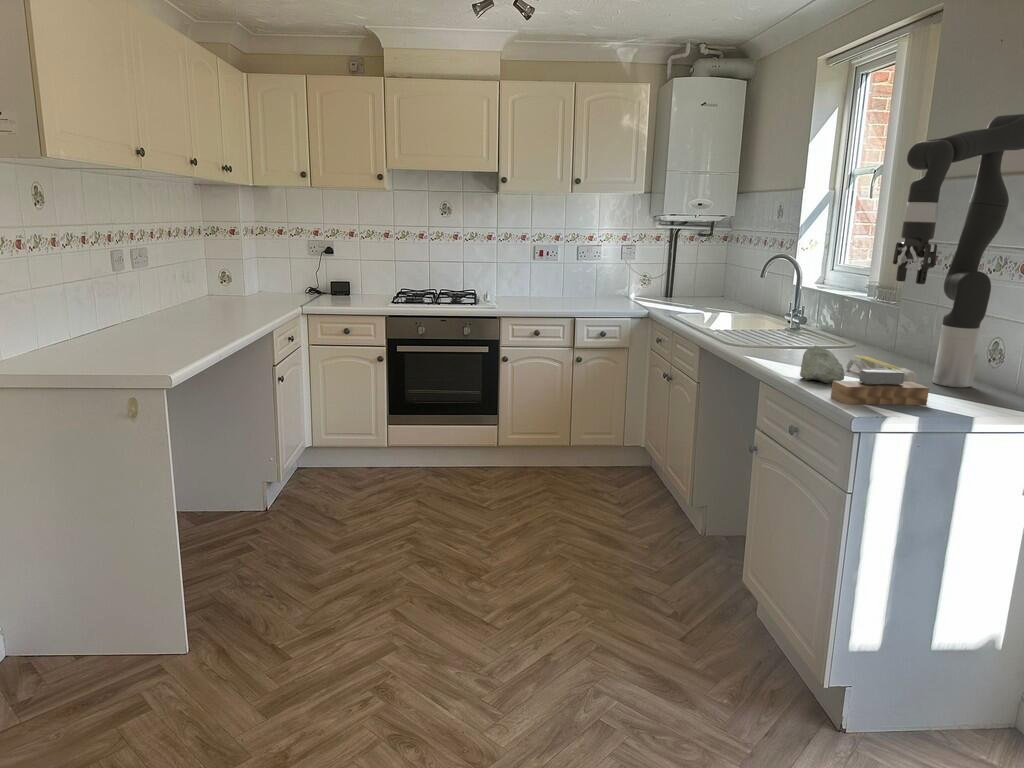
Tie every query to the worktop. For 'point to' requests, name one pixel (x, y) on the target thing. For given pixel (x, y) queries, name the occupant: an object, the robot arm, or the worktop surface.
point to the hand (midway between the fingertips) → (910, 282)
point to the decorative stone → (821, 366)
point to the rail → (879, 393)
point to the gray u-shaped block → (881, 377)
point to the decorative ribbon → (881, 368)
